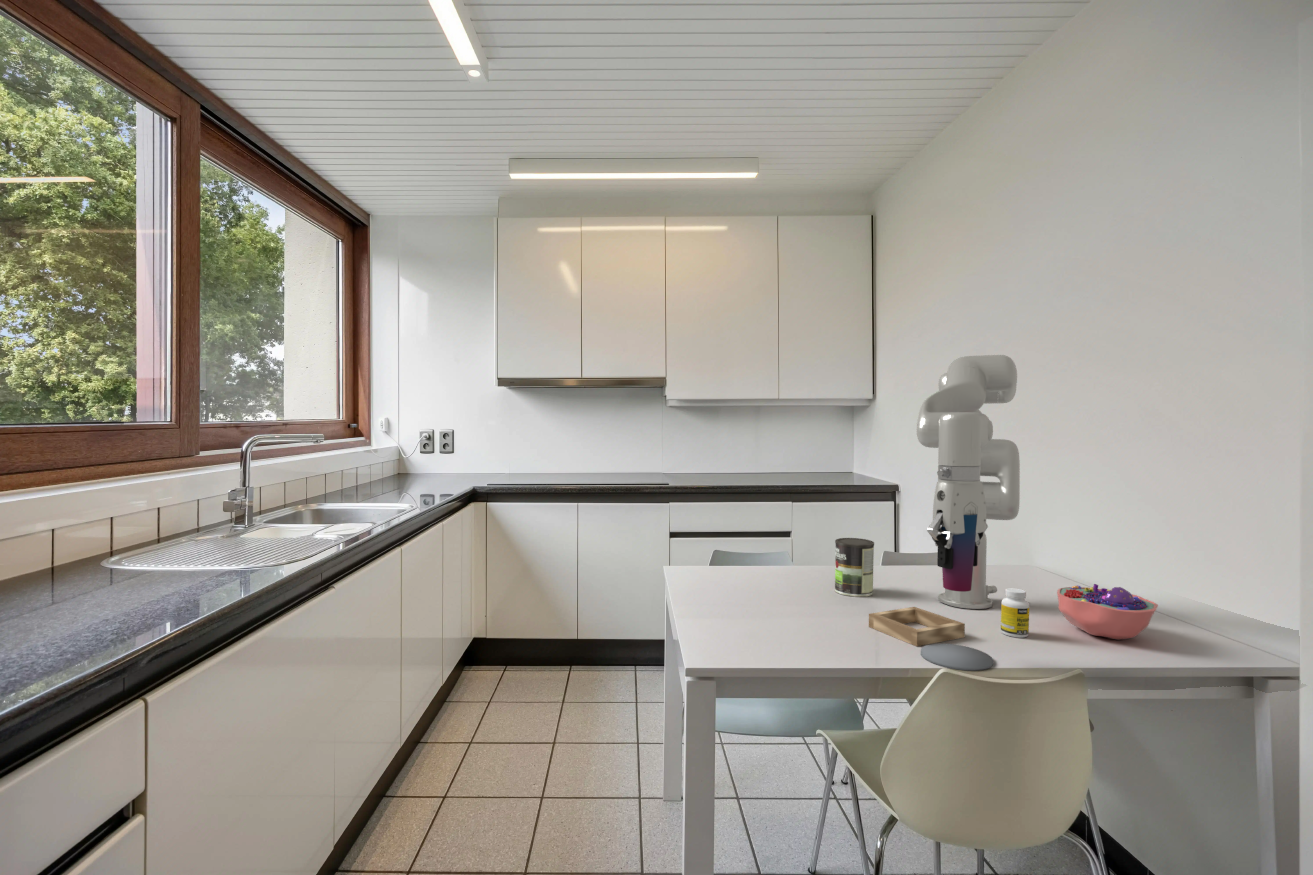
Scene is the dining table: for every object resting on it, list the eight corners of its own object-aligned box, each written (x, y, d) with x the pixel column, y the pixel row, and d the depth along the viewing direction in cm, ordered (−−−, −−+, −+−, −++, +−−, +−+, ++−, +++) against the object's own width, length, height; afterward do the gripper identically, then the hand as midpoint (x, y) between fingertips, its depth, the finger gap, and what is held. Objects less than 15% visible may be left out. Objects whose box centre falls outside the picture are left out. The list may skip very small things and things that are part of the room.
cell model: (1097, 618, 153) (1098, 571, 153) (1179, 647, 134) (1180, 593, 133) (1035, 622, 150) (1036, 574, 150) (1109, 652, 131) (1110, 597, 130)
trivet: (952, 642, 136) (952, 640, 136) (1008, 664, 124) (1008, 660, 124) (906, 651, 130) (906, 648, 130) (960, 674, 119) (960, 671, 119)
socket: (914, 619, 152) (914, 606, 152) (964, 637, 139) (964, 623, 139) (868, 626, 146) (868, 613, 146) (916, 646, 134) (917, 632, 134)
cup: (942, 591, 124) (943, 514, 124) (934, 583, 131) (935, 509, 130) (980, 593, 123) (982, 515, 122) (970, 585, 129) (972, 510, 129)
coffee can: (843, 597, 171) (844, 544, 171) (828, 587, 181) (829, 537, 181) (880, 596, 172) (881, 544, 172) (863, 586, 182) (864, 537, 182)
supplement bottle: (1018, 639, 138) (1019, 594, 138) (995, 632, 143) (996, 588, 143) (1034, 635, 141) (1035, 591, 140) (1010, 628, 145) (1011, 585, 145)
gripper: (942, 477, 119) (941, 574, 120) (1006, 475, 126) (1004, 566, 127) (911, 474, 126) (910, 566, 126) (973, 472, 133) (971, 559, 134)
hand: (957, 565), depth 127 cm, fingers closed on cup, 6 cm apart
